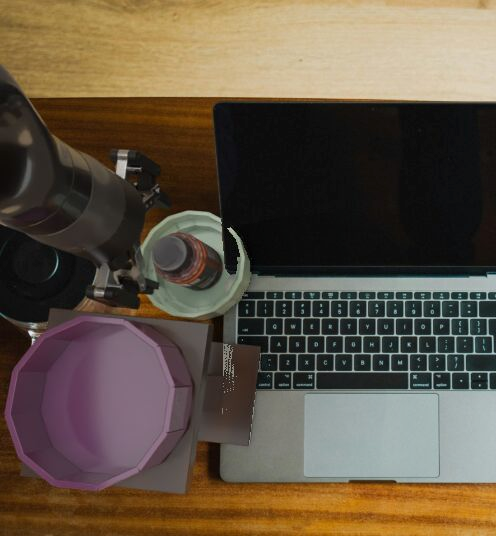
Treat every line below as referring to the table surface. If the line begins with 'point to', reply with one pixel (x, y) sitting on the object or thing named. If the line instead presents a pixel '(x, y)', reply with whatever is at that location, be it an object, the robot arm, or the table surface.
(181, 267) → the supplement bottle
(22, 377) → the plum bowl
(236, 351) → the plant stand
